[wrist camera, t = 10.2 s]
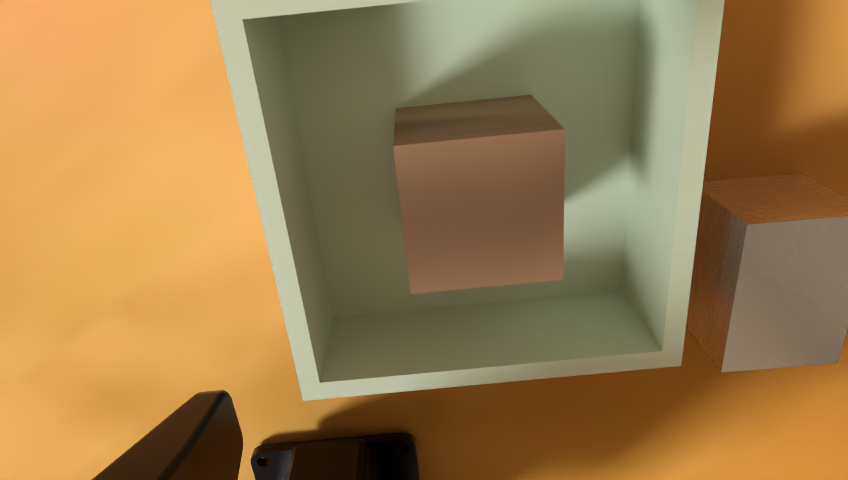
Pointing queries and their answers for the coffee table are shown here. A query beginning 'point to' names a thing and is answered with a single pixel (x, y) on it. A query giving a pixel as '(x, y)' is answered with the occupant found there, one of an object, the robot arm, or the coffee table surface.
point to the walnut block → (480, 193)
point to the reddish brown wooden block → (770, 273)
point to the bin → (379, 198)
